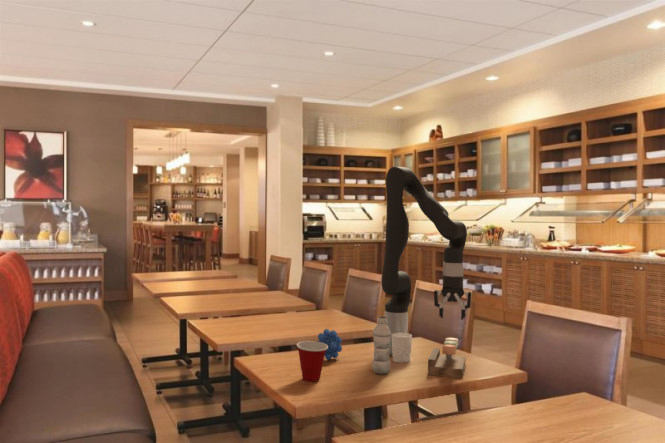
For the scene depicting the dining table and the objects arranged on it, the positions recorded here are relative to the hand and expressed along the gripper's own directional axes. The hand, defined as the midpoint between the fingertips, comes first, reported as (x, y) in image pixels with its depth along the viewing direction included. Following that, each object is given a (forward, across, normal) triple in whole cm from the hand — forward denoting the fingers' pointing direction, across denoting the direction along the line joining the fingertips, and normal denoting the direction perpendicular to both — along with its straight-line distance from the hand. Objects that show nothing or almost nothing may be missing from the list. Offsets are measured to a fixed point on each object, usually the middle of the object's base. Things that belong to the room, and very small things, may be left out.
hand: (452, 318), depth 217 cm
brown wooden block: (+18, +1, +6) cm, 19 cm away
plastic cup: (+18, +44, +34) cm, 58 cm away
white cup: (+18, +19, -1) cm, 26 cm away
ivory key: (+12, 0, 0) cm, 12 cm away
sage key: (+12, 0, +6) cm, 14 cm away
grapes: (+18, +45, +8) cm, 49 cm away
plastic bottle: (+18, +23, +19) cm, 35 cm away
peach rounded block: (+12, 0, +12) cm, 17 cm away
